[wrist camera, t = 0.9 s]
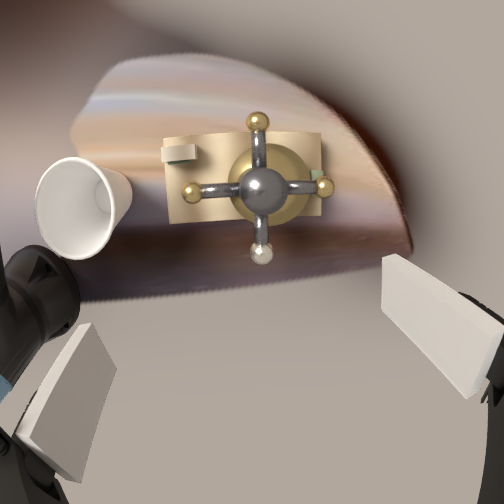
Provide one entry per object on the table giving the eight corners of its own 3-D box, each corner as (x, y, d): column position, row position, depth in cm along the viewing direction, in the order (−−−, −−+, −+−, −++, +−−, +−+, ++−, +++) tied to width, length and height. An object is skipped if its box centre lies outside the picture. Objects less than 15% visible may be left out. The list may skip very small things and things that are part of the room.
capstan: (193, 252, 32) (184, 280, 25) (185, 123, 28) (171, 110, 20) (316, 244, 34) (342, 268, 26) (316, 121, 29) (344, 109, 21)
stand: (173, 219, 34) (165, 228, 29) (167, 140, 31) (158, 136, 26) (314, 212, 35) (328, 219, 31) (314, 134, 32) (327, 131, 27)
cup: (163, 194, 33) (136, 209, 22) (114, 247, 34) (77, 279, 24) (113, 140, 30) (70, 135, 19) (68, 196, 31) (20, 211, 21)
